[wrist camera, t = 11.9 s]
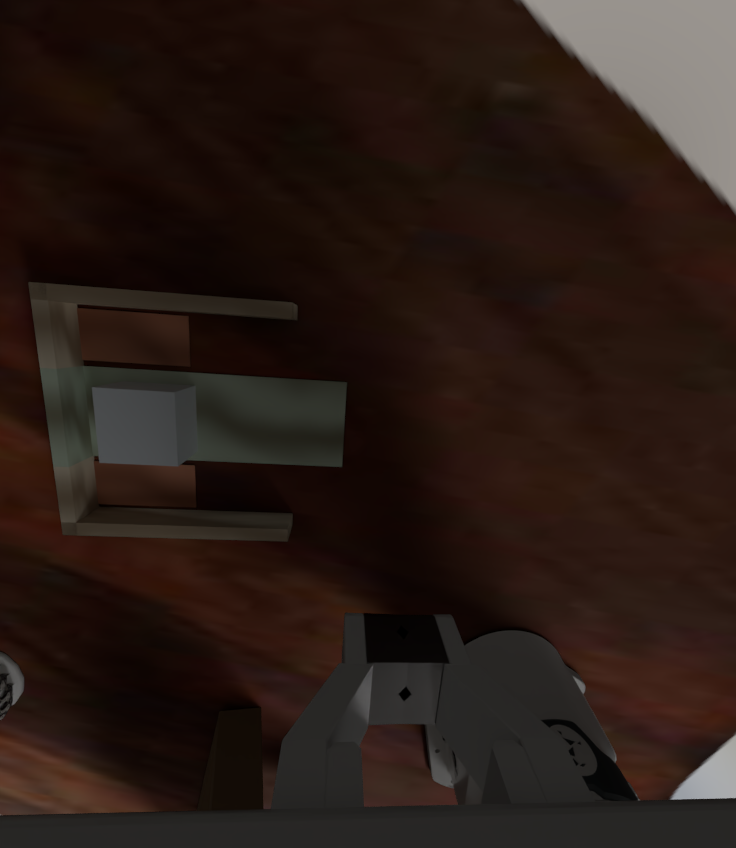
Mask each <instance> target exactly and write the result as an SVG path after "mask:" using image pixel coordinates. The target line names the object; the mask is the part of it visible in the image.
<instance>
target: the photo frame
mask: <svg viewBox="0 0 736 848" xmlns="http://www.w3.org/2000/svg"><path fill="white" fill-rule="evenodd" d="M255 809H263V774H262V730H261V707H259V708H249V709H238V710H227V711H219V715H218V720H217V724H216V728H215V733H214V737H213V741H212V746H211V750H210V754H209V759H208V763H207V768H206V772H205V776H204V781H203V785H202V789H201V794H200V798H199V802H198V807H197V811H212V810H255Z"/></svg>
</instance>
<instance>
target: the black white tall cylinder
mask: <svg viewBox="0 0 736 848" xmlns="http://www.w3.org/2000/svg"><path fill="white" fill-rule="evenodd" d="M23 691H24V676H23V674H22V672H21V670H20V667H19V665H18V664H17V663H16V662H14V661H13V660H12V659H11V658H10V657H9V656H8V655H7V654H5V653H3V652H1V651H0V720H1V719H2V718H3V717H4V716H5V715H6V713H7V711H8V709H9V708H10V707H11V705H13V704H15V702H16V701H17V700H18V698H19V697H20V695H21V694H22V692H23Z"/></svg>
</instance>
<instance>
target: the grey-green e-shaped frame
mask: <svg viewBox="0 0 736 848" xmlns="http://www.w3.org/2000/svg"><path fill="white" fill-rule="evenodd" d="M28 284H29V292H30V299H31V306H32V313H33V321H34V328H35V335H36V343H37V350H38V357H39V365H40V372H41V379H42V387H43V394H44V401H45V408H46V416H47V423H48V430H49V438H50V445H51V452H52V460H53V467H54V474H55V482H56V489H57V496H58V503H59V511H60V518H61V525H62V533H63V535H81V536H115V537H150V538H184V539H219V540H254V541H288V539H289V535H290V532H291V528H292V525H293V513H268V512H239V511H210V510H181V509H152V508H124V507H99V504H108V505H136V506H165V507H193V508H196V507H197V502H196V478H195V465H179V466H157V465H136V464H114V463H99V461H94V456H99V454H98V444H97V434H96V424H95V415H94V405H93V395H92V387H96V386H101V385H106V384H111V383H116V382H121V381H131V382H147V383H162V384H178V385H194V386H195V387H196V414H197V442H198V451H197V452H196V453H195V454H194V455H192V456H191V457H190V458H188V459H187V460H196V461H219V462H241V463H263V464H286V465H308V466H331V467H342V460H343V442H344V424H345V406H346V389H347V382H336V381H319V380H303V379H287V378H271V377H255V376H239V375H223V374H207V373H191V372H175V371H159V370H143V369H126V368H110V367H94V366H84V362H83V360H91V361H107V362H122V363H138V364H154V365H170V366H186V367H191V360H190V336H189V316H180V315H167V314H153V313H139V312H126V311H112V310H98V309H85V308H78V307H77V304H82V305H95V306H109V307H122V308H136V309H149V310H163V311H176V312H190V313H203V314H217V315H230V316H243V317H257V318H270V319H284V320H297V316H298V306H297V305H296V304H294V303H293V302H280V301H267V300H254V299H241V298H229V297H216V296H203V295H190V294H177V293H164V292H151V291H139V290H126V289H113V288H100V287H87V286H74V285H61V284H49V283H36V282H28Z"/></svg>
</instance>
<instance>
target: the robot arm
mask: <svg viewBox="0 0 736 848" xmlns="http://www.w3.org/2000/svg"><path fill="white" fill-rule="evenodd" d="M584 692H585V684H584V682H583V681H582V679H581V677H580V676H579V675H578V674H577V673H576V672H575V671H573V670H572V669H570V668H569V667H567V666H566V665H565V664H564V662H563V661H562V659H561V657H560V655H559V653H558V651H557V650H556V649H555V648H554V646H553V645H552V644H550V643H549V642H548V641H547V640H545V639H544V638H542V637H540V636H538V635H535V634H532V633H529V632H524V631H516V630H507V631H499V632H494V633H490V634H487V635H484V636H481V637H479V638H477V639H475V640H473V641H471V642H469V643H468V644H466V645H465V646H464V644H463V641H462V639H461V636H460V634H459V631H458V629H457V626H456V624H455V621H454V618H453V617H452V616H451V615H450V614H441V615H395V614H371V613H364V614H363V613H345V617H344V631H343V646H342V663H340V664H338V665H337V667H336V668H335V670H334V671H333V672H332V674H331V675H330V676H329V678H328V679H327V680H326V682H325V683H324V684H323V686H322V687H321V688H320V690H319V691H318V693H317V694H316V695H315V697H314V698H313V699H312V701H311V702H310V703H309V705H308V706H307V707H306V709H305V710H304V711H303V713H302V714H301V716H300V717H299V718H298V720H297V721H296V722H295V724H294V725H293V726H292V728H291V729H290V730H289V732H288V733H287V734H286V736H285V737H284V739H283V740H282V745H281V751H280V757H279V763H278V769H277V775H276V781H275V787H274V793H273V799H272V805H271V809H255V810H212V811H169V812H127V813H84V814H42V815H0V848H736V798H727V799H683V800H639V798H638V797H637V794H636V793H635V791H634V789H633V788H632V786H631V785H630V783H629V782H627V781H626V779H625V777H624V776H623V774H622V773H621V771H620V769H619V768H618V766H617V765H616V763H615V761H616V754H615V751H614V749H613V747H612V745H611V744H610V742H609V740H608V738H607V736H606V734H605V733H604V731H603V729H602V727H601V725H600V724H599V722H598V720H597V718H596V716H595V715H594V713H593V711H592V709H591V708H590V706H589V704H588V702H587V700H586V699H585V697H584V695H583V694H584ZM401 723H402V724H425V733H426V742H427V751H428V759H429V768H430V772H431V775H432V778H433V780H434V781H436V782H437V783H439V784H441V785H444V786H447V787H450V788H454V791H455V795H456V799H457V802H458V805H428V806H384V807H364V801H363V779H362V757H361V748H360V747H359V745H360V743H361V741H362V739H363V737H364V735H365V733H366V730H367V728H368V725H381V724H401Z"/></svg>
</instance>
